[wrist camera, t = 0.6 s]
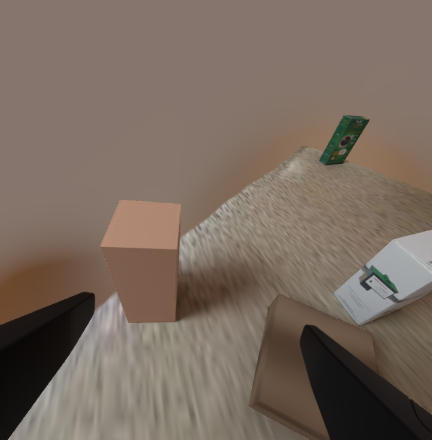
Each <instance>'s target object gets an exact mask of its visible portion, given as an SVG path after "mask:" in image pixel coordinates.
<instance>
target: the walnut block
mask: <svg viewBox="0 0 432 440" xmlns="http://www.w3.org/2000/svg"><path fill="white" fill-rule="evenodd" d="M306 324H309V325H315V326H317V327H318V328H319V329H320V330H322V331H323V332H324V333H326V334H327V335H328V336H330V337H331V338H332V339H333V340H335V341H336V342H337V343H339V344H340V345H341V346H342V347H344V348H345V349H346V350H348V351H349V352H350V353H352V354H353V355H354V356H355V357H357V358H358V359H359V360H361V361H362V362H363V363H365V364H366V365H367V366H368V367H370V368H371V369H372V370H374V371H375V372H376V373H378V369H377V363H376V357H375V352H374V346H373V340H372V334H371V333H370V332H367V331H365V330H363V329H360V328H358V327H356V326H353V325H351V324H349V323H346V322H344V321H342V320H339V319H337V318H335V317H332V316H330V315H328V314H325V313H323V312H321V311H318V310H316V309H314V308H311V307H309V306H307V305H304V304H302V303H300V302H297V301H295V300H293V299H290V298H288V297H286V296H283V295H281V294H278V296H277V297H276V298H275V300H274V301H273V302H272V304H271V305H270V307H269V308H268V313H267V318H266V323H265V328H264V333H263V338H262V343H261V348H260V353H259V358H258V362H257V367H256V372H255V377H254V382H253V387H252V392H251V397H250V402H249V407H251V408H253V409H255V410H257V411H258V412H260V413H262V414H264V415H266V416H268V417H270V418H271V419H273V420H275V421H277V422H279V423H281V424H283V425H284V426H286V427H288V428H290V429H292V430H294V431H295V432H297V433H299V434H301V435H303V436H305V437H307V438H308V439H310V440H330V438H329V435H328V432H327V430H326V427H325V424H324V421H323V419H322V416H321V413H320V410H319V408H318V405H317V402H316V399H315V397H314V394H313V391H312V388H311V385H310V382H309V378H308V374H307V371H306V367H305V363H304V359H303V356H302V352H301V348H300V337H301V334H302V331H303V328H304V326H305V325H306Z"/></svg>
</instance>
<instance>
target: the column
mask: <svg viewBox="0 0 432 440" xmlns="http://www.w3.org/2000/svg"><path fill="white" fill-rule="evenodd" d="M180 215H181V204H173V203H159V202H144V201H129V200H120V202H119V205H118V207H117V209H116V211H115V214H114V216H113V218H112V221H111V223H110V225H109V227H108V230H107V232H106V234H105V237H104V239H103V241H102V243H101V246H100V248H101V250H102V253H103V256H104V258H105V261H106V264H107V266H108V269H109V272H110V274H111V277H112V280H113V282H114V285H115V288H116V291H117V293H118V296H119V299H120V301H121V304H122V307H123V309H124V312H125V315H126V317H127V320H128V323H141V322H175V318H176V304H177V290H178V271H179V244H180V217H181V216H180Z"/></svg>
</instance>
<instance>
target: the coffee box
mask: <svg viewBox="0 0 432 440" xmlns="http://www.w3.org/2000/svg"><path fill="white" fill-rule="evenodd" d="M368 122H369V119H368V118H366V117H362V116H350V115H343V117H342V119H341V121H340V123H339V125H338V127H337V129H336V131H335V132H334V134H333V136H332V138H331V140H330V142H329V144H328V145H327V147H326V149H325V151H324V153H323V154H322V156H321V158H320V160H319V161H320V162H321V163H323V164H325V165H327V164H328V165H330V164H340V163H343V162H344V160H345V159H346V157H347V156H348V154H349V152H350V151H351V149H352V148H353V146H354V144H355V143H356V141H357V140H358V138H359V136H360V135H361V133H362V131H363V130H364V128H365V127H366V125H367V124H368Z"/></svg>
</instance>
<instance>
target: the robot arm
mask: <svg viewBox="0 0 432 440" xmlns="http://www.w3.org/2000/svg"><path fill="white" fill-rule="evenodd" d="M94 310H95V295H94V293H90V292H82V293H79V294H77V295H74V296H72V297H69V298H67V299H64V300H62V301H59V302H57V303H55V304H52V305H50V306H47V307H44V308H42V309H39V310H37V311H34V312H32V313H29V314H27V315H24V316H22V317H20V318H17V319H14V320H12V321H9V322H7V323H5V324H2V325H0V440H8V439H9V437H10V436H11V435H12V433H13V432H14V431H15V429H16V428H17V426H18V425H19V424H20V422H21V421H22V420H23V418H24V417H25V415H26V414H27V413H28V411H29V410H30V409H31V407H32V406H33V404H34V403H35V402H36V400H37V399H38V397H39V396H40V395H41V393H42V392H43V391H44V389H45V388H46V386H47V385H48V384H49V382H50V381H51V380H52V378H53V377H54V375H55V374H56V373H57V371H58V370H59V369H60V367H61V366H62V364H63V363H64V362H65V360H66V359H67V357H68V356H69V355H70V353H71V352H72V350H73V348H74V347H75V345H76V343H77V342H78V340H79V338H80V337H81V335H82V333H83V332H84V330H85V328H86V327H87V325H88V323H89V321H90V320H91V318H92V316H93V314H94ZM300 348H301V352H302V356H303V359H304V363H305V367H306V371H307V374H308V378H309V382H310V385H311V388H312V391H313V394H314V397H315V399H316V402H317V405H318V408H319V410H320V413H321V416H322V419H323V421H324V424H325V427H326V430H327V432H328V435H329V438H330V440H432V415H431V414H430V413H428V412H427V411H426V410H424V409H423V408H422V407H420V406H419V405H418V404H417V403H415V402H414V401H413V400H411V399H409V398H408V397H407V396H406V395H405V394H403V393H402V392H401V391H400V390H398V389H397V388H396V387H394V386H393V385H392V384H390V383H389V382H388V381H387V380H385V379H384V378H383V377H381V376H380V375H379V374H378V373H376V372H375V371H374V370H372V369H371V368H370V367H368V366H367V365H366V364H365V363H363V362H362V361H361V360H359V359H358V358H357V357H355V356H354V355H353V354H352V353H350V352H349V351H348V350H346V349H345V348H344V347H342V346H341V345H340V344H339V343H337V342H336V341H335V340H333V339H332V338H331V337H330V336H328V335H327V334H326V333H324V332H323V331H322V330H320V329H319V328H318V327H317V326H315V325H309V324H306V325H305V326H304V328H303V331H302V334H301V337H300Z"/></svg>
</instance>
